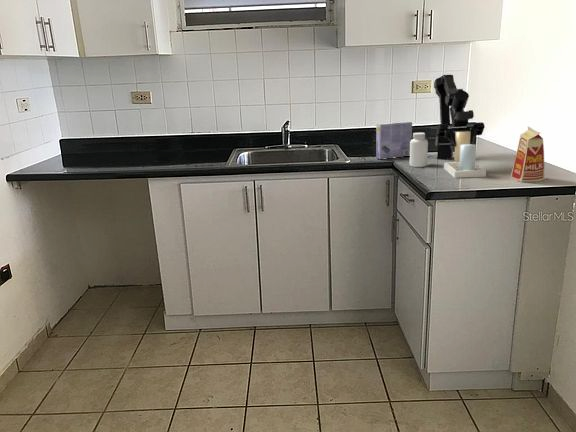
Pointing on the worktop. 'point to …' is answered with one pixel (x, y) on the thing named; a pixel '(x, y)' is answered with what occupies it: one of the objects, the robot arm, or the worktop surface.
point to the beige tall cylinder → (460, 142)
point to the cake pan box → (393, 140)
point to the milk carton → (529, 158)
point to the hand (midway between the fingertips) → (463, 145)
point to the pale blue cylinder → (467, 157)
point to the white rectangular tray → (454, 171)
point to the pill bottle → (418, 150)
